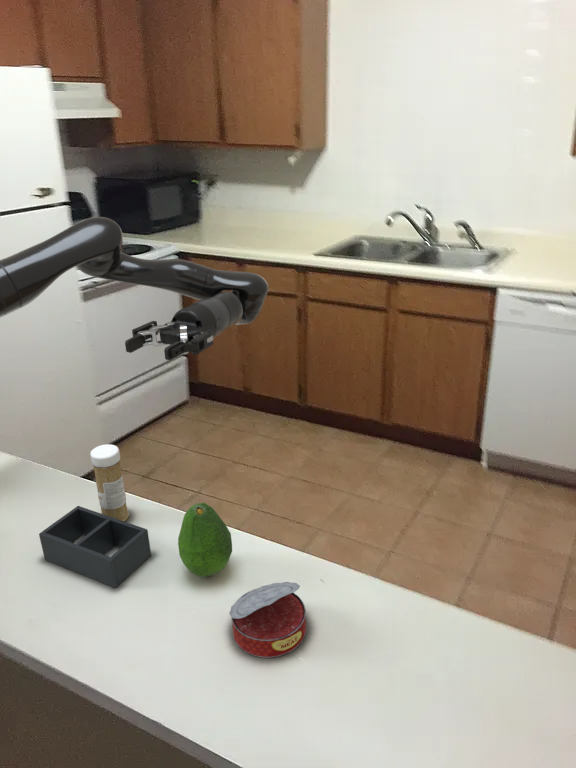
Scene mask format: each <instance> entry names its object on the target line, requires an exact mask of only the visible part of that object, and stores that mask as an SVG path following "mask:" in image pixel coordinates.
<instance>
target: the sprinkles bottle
mask: <svg viewBox="0 0 576 768" xmlns="http://www.w3.org/2000/svg"><path fill="white" fill-rule="evenodd" d="M90 460H91V461H90V462H91V464H92V466H93V471H94V477H95V484H96V485H95V486H96V491H97V497H98V502H99V506H100V511H101V514H104V515H107V516H110V517H113V518H116V519H118V520H121V521H124V522H127V520H128V519H129V516H130V513H129V510H128V506H127V496H126V489H125V482H124V477H123V473H122V467H121V452H120V449H119V447H118V446H117V445H115V444H106V443H105V444H101V445H98V446H96V447H94V448H93V449H92V450H90Z"/></svg>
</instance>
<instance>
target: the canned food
mask: <svg viewBox="0 0 576 768" xmlns="http://www.w3.org/2000/svg"><path fill="white" fill-rule="evenodd" d="M300 587H301V585H300V584H299V583H297V582H290V581H284V582H274V583H271V584H267V585H262V586H260V587H257V588H254V589H251V590H249V591H247V592H246V593H244V594H243V595H241V596H240V597H239V598H237V600H236V601H235V602H234V603H233V604H232V605H231V607H230V610H229V613H228V614H229V616H230V617H231V622H232V637H233V639H234V642H235V644H236V645H237V647H239V648H240V649H241V650H242V651H243V652H245V653H247V654H248V655H251V656H254V657H258V658H265V659H268V658H269V659H270V658H278V657H281V656H285V655H287V654H288V653H291V652H293V651H294V650H295V649H297V648H298V646H300V645H301V644H302V642H303V641H304V639H305V637H306V633H307V623H306V622H307V621H306V620H307V619H306V617H307V616H306V611H307V609H306V606H305V603H304V601H303V599H301V597H300V596H299V595H298V594H296V591H298V590H299V589H300Z"/></svg>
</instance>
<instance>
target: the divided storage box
mask: <svg viewBox="0 0 576 768" xmlns="http://www.w3.org/2000/svg"><path fill="white" fill-rule="evenodd" d="M82 535H85V536H83V537H82ZM38 536H39V541H40V545H41V549H42V555H43V558H44V560H45V561H47V562H50V563H52V564H53V565H54V564H55V565H57V566H59V567H62V568H63V569H67V570H70V571H71V572H74V573H77V574H79V575H81V576H84V577H87V578H89V579H92V580H94V581H97V582H99V583H102V584H104V585H107V586H109V587H112V588H114V589H116V588H117V587H118V586H119V585H120V584H122V583H123V582H124V581H125V580H127V578H128V577H130V575H132V574H133V573H134V572H135V570H137V569H138V568H139V567H140V566H141V565H142V564H143V563H145V562H147V560H148V559H149V558H150V557H152V550H151V544H150V537H149V530H148V528H145V527H142V526H139V525H135V524H133V523H130V522H127V521H125V522H124V521H121V520H118V519H116V518H113V517H110V516H107V515H104V514H102V512H98V511H95V510H92V509H89V508H86V507H83V506H81V505H77V506H76V507H74V508H72V509H71V510H69V512H66V514H63V516H61V517H60V518H58V519H57V520H56V521H54V522H53V523H51V524H50V525H49V526H47V527H46V528H45V529H43V530H42V531H41V532H40V533H38ZM80 537H82V538H81V539H80V540H78V541H77V542H74V541H76V540H77V539H78V538H80ZM114 547H117V548H119V549H118V550H116V552H114V553H113V554H112V555H111V556H109V555H105V554H106V553H108V552H109V551H110V550H112V548H114Z"/></svg>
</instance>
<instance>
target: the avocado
mask: <svg viewBox="0 0 576 768" xmlns="http://www.w3.org/2000/svg"><path fill="white" fill-rule="evenodd" d="M177 545H178V554H179V557H180V559H181V561H182V563H183V565H184V566H185V568H186V569H187V570H188V571H189V572H190V573H191V574H193V575H195V576H197V577H201V578H202V577H206V578H207V577H211V576H213V575H216V574H218V573H219V572H221V571H222V570H224V569H225V568H226V566H227V565H228V563H229V561H230V559H231V556H232V553H233V541H232V533H231V531H230V530H229V527H227V524H226V523H225V522H224V520H223V519H222V518H221V517H220V515H219V514H218V512H217V511H216V510H215V509H214V508H213V507H212V506H210V505H209V504H207V503H206V502H198V503H195V504H193V505H191V506H190V507H189V508H188V509H187V511H186V512H185V513H184V515H183V518H182V522H181V527H180V529H179V534H178V538H177Z"/></svg>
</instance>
